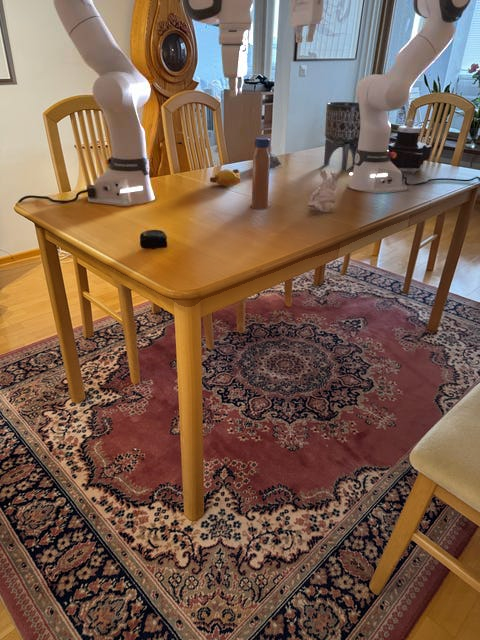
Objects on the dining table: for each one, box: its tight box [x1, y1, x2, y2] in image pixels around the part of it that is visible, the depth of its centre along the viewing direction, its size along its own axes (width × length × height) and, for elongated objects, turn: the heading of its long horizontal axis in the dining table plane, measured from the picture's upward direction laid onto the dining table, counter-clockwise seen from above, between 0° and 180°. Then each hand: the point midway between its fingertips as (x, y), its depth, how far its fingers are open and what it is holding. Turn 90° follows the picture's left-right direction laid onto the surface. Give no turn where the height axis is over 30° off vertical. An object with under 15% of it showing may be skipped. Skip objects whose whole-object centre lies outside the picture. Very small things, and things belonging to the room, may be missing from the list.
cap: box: [254, 136, 271, 148], centre depth 142 cm, size 4×5×2 cm
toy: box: [209, 168, 242, 188], centre depth 176 cm, size 11×6×15 cm
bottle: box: [251, 147, 270, 210], centre depth 147 cm, size 5×5×21 cm
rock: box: [268, 152, 282, 170], centre depth 204 cm, size 13×9×6 cm, turn 131°
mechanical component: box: [388, 119, 433, 174], centre depth 204 cm, size 22×21×30 cm
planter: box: [323, 101, 360, 172], centre depth 204 cm, size 20×20×26 cm
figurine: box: [305, 168, 338, 213], centre depth 146 cm, size 8×15×13 cm, turn 145°
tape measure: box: [139, 229, 168, 250], centre depth 117 cm, size 7×7×4 cm
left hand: (235, 95), depth 127 cm, fingers open, 8 cm apart
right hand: (304, 42), depth 147 cm, fingers open, 8 cm apart
